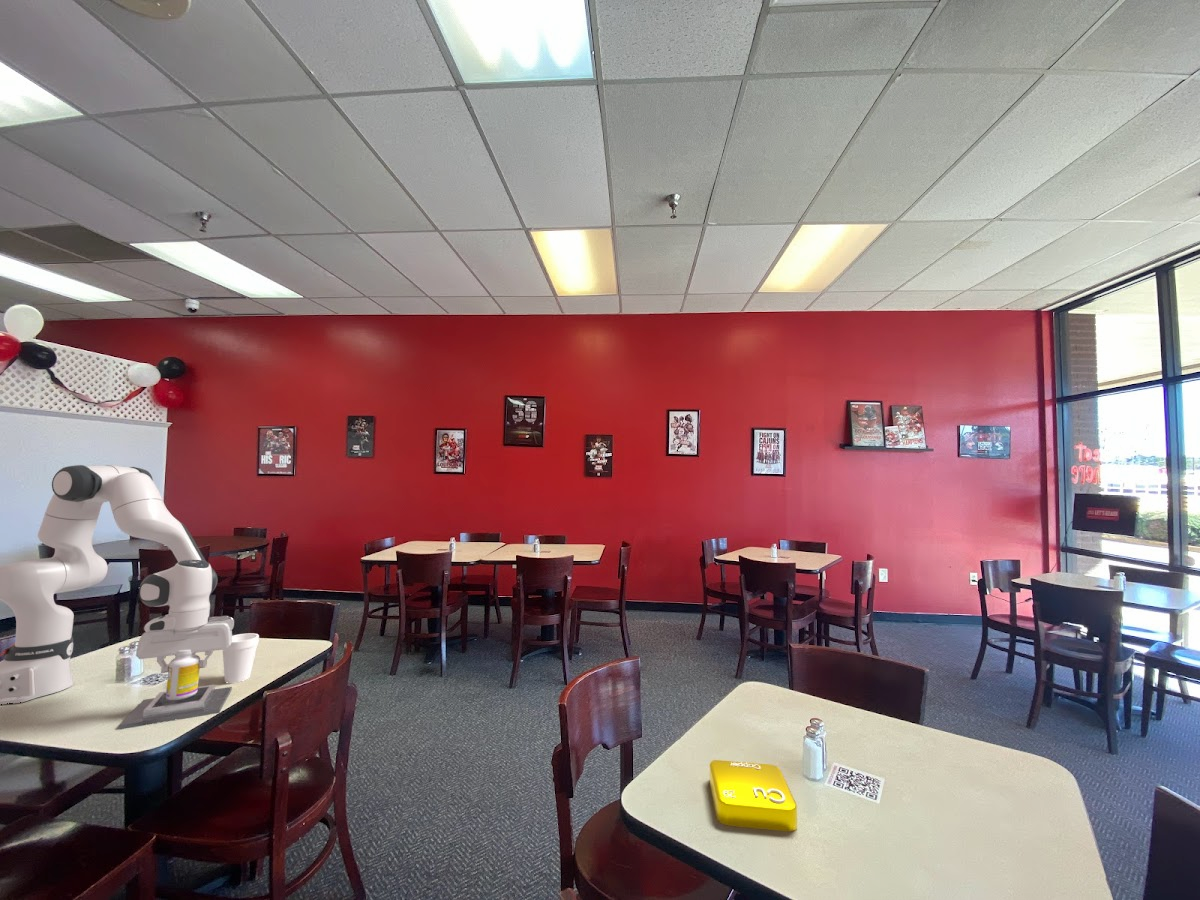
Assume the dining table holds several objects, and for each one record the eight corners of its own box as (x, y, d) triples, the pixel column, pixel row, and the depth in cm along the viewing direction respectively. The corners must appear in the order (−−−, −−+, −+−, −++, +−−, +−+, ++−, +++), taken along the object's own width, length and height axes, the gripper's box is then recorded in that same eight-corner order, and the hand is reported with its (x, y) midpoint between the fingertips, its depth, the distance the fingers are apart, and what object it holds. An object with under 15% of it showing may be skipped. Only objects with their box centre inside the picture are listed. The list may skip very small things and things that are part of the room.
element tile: (778, 784, 102) (778, 761, 102) (800, 835, 87) (799, 807, 87) (708, 778, 103) (708, 756, 104) (717, 827, 89) (717, 800, 89)
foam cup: (216, 687, 143) (220, 644, 144) (220, 677, 151) (223, 636, 152) (254, 681, 149) (258, 639, 150) (256, 671, 156) (259, 631, 157)
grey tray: (119, 729, 118) (120, 716, 119) (143, 703, 132) (144, 692, 133) (219, 712, 128) (220, 701, 128) (231, 690, 142) (232, 679, 142)
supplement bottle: (203, 691, 134) (208, 644, 135) (183, 701, 127) (188, 652, 128) (179, 691, 134) (184, 644, 135) (158, 701, 127) (163, 652, 128)
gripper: (236, 612, 140) (232, 660, 139) (145, 620, 130) (140, 671, 129) (232, 617, 134) (228, 667, 133) (136, 626, 125) (131, 680, 124)
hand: (184, 669), depth 131 cm, fingers closed on supplement bottle, 7 cm apart
